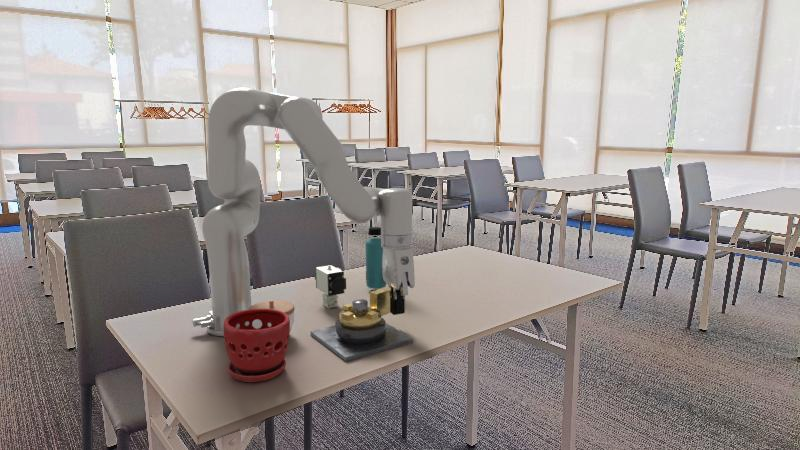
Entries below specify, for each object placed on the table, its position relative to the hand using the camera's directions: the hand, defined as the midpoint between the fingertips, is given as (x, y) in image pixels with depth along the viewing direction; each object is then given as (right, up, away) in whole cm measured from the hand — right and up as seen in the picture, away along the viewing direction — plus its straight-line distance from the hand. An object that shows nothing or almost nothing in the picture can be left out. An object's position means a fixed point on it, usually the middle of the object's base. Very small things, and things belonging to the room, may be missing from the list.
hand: (397, 312), depth 128 cm
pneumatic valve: (-19, -2, +21) cm, 28 cm away
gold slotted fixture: (-6, -1, -1) cm, 7 cm away
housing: (-9, -6, -3) cm, 11 cm away
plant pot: (-29, -9, -19) cm, 36 cm away
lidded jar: (-30, -6, -1) cm, 31 cm away
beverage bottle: (-7, +1, +35) cm, 35 cm away
